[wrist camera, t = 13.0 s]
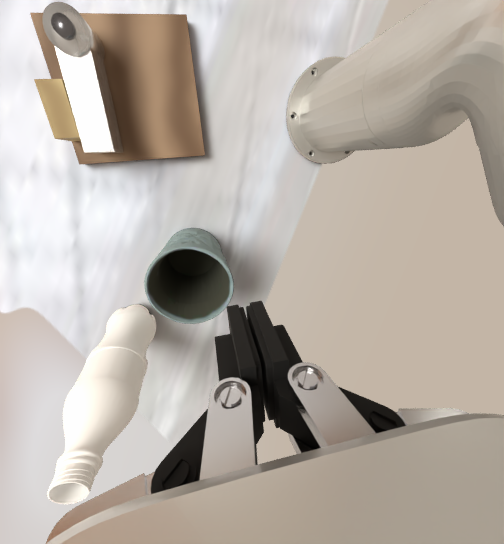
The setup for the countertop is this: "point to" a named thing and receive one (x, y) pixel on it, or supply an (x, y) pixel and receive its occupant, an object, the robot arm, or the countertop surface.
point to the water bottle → (102, 401)
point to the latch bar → (84, 77)
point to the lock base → (134, 87)
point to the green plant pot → (189, 278)
